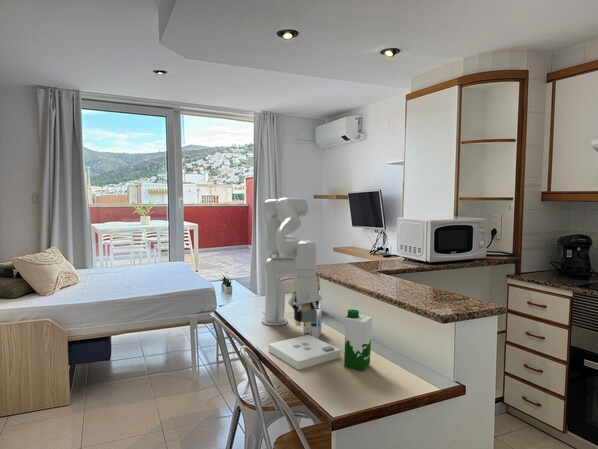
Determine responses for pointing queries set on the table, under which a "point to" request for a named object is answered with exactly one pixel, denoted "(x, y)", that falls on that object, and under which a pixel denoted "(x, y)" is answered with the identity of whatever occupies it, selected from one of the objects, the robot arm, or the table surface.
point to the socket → (304, 351)
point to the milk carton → (357, 340)
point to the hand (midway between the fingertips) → (305, 319)
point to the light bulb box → (314, 326)
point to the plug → (307, 316)
